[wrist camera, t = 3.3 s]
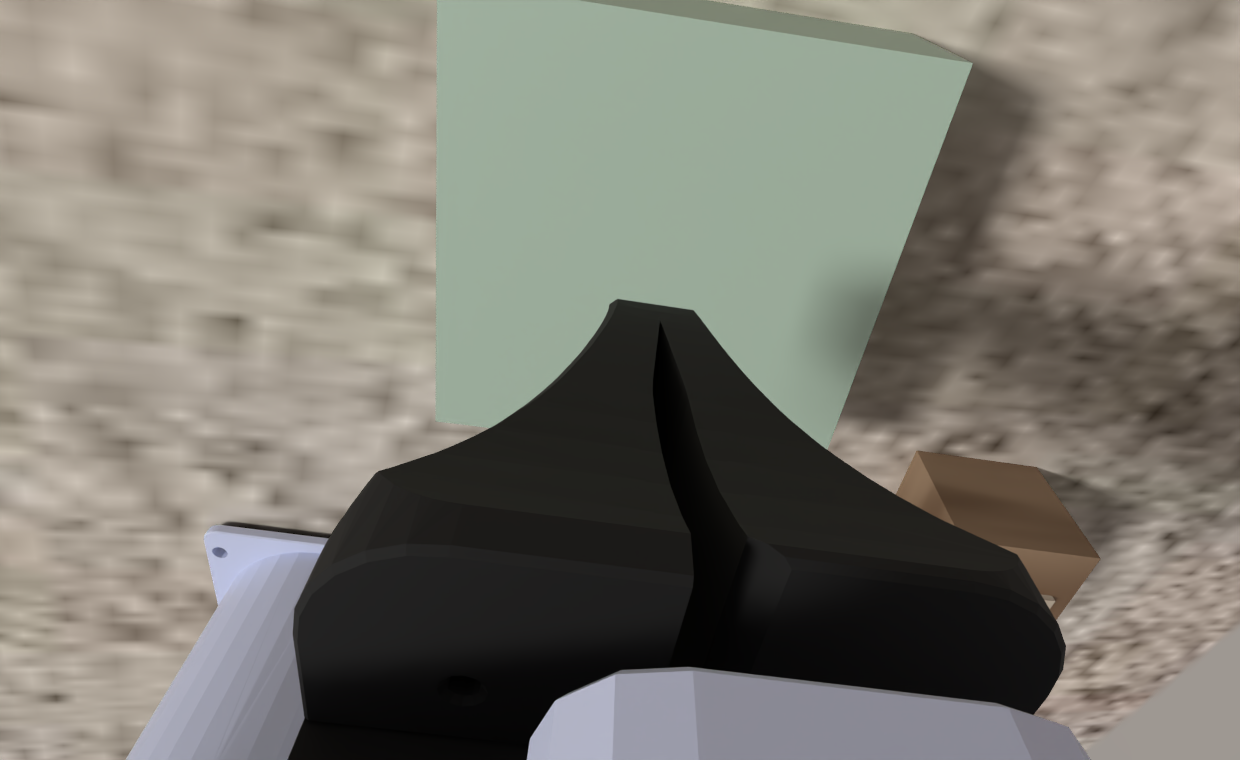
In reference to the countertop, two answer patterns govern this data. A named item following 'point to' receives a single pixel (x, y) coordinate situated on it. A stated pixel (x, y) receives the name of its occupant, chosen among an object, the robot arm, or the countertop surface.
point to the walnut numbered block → (1006, 517)
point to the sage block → (673, 187)
